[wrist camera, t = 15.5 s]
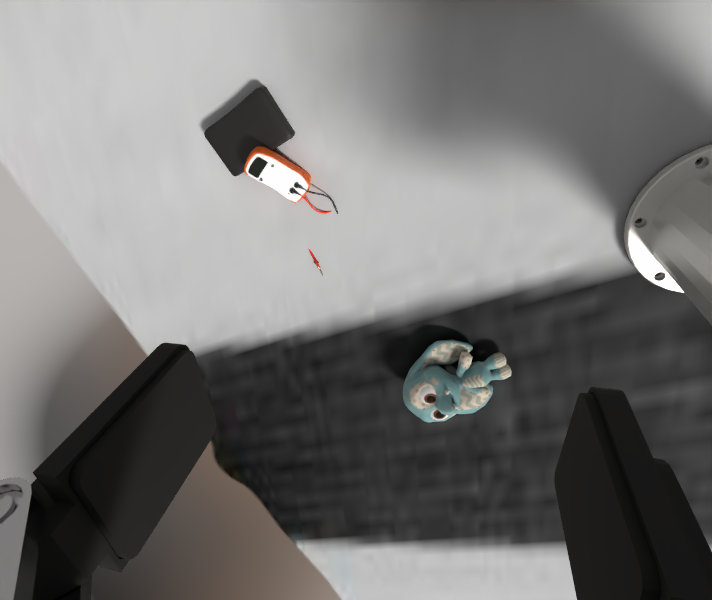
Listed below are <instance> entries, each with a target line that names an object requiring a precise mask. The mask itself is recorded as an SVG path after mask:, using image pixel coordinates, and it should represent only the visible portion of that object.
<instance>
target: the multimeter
mask: <svg viewBox="0 0 712 600" xmlns="http://www.w3.org/2000/svg"><path fill="white" fill-rule="evenodd" d="M294 134H295V132H294V130H293V129H292V127H291V126H290V124H289V122H288V121H287V119H286V118H285V116H284V115H283V113H282V111H281V110H280V108H279V107H278V105H277V103H276V102H275V100H274V99H273V97H272V96H271V94H270V92H269V91H268V89H267V88H266V87H259V88H257V89H255V90H254V91H253V92H252V93H251V94H250V95H249V96H248V97H246V98H245V99H244V100H243V101H242V102H241V103H240V104H239V105H237V106H236V107H235V108H234V109H233V110H231V111H230V112H229V113H228V114H227V115H225V116H224V117H223V118H221V119H220V120H219V121H217V122H216V123H215V124H213V125H212V126H211V127H209V128H208V129H207V130H206V131H205V133H204V135H205V137H206V139H207V140H208V141H209V143H210V144H211V146H212V147H213V148H214V150H215V151H216V153H217V154H218V155H219V157H220V158H221V160H222V161H223V162H224V164H225V165H226V167H227V168H228V169H229V171H230V172H231V174H232V175H234V176H238V175H240V174H241V173H243V172H245V173H246V174H247V175H248V176H251V177H252V178H254V179H256V180H258V181H260V182H261V183H264V184H266V185H267V186H269V187H271V188H273V189H274V190H276V191H278V192H279V193H280V194H282V195H283V196H284V197H286V198H287V199H289V200H290V201H292V202H294V203H296V202H298V201H300V200H301V199H302V198H304V199H305V200H306V201H307V202H308V203H309V201H308V200H307V199H306V198H305V197H304V196H305V195H306V193H307V192H309V193H313V194H318V195H323V196H326V197H328V198H329V199H330V200H331V201H332V203H333V205H334V207H335V210H336V212H337V214H338V211H337V209H336V206H335V204H334V202H333V200H332V199H331V198H330V197H329V196H327V195H324V194H320V193H315V192H311V191H308V190H309V187H310V182H311V176H310V174H309V173H308V172H306V171H305V170H303V169H302V168H300V167H298V166H297V165H295V164H293V163H292V162H290V161H288V160H287V159H285V158H284V157H282V156H280V155H279V154H277V153H275V152H274V151H272V150H274V149H275V148H277V147H278V146H280V145H281V144H283V143H285V142H286V141H288V140H289V139H291V138H292V137H293V136H294ZM309 205H310V206H311V207H312V208H313V209H314V210H315V211H317V212H319V213H329V212H331V211H328V212H321V211H318V210H316V209H315V208H314V207H313V206H312V205H311V204H310V203H309ZM309 251H310V249H309ZM310 253H311V255H312V257H313V259H314V261H315V264H316V265H317V267H318V268H319V269H320V266H319V264H318V262H317V260H316V258H315V257H314V255H313V253H312V252H311V251H310ZM320 271H321V270H320ZM321 273H322V272H321ZM322 275H323V274H322Z"/></svg>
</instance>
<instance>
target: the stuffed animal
mask: <svg viewBox="0 0 712 600" xmlns="http://www.w3.org/2000/svg"><path fill="white" fill-rule="evenodd" d="M472 348H473V346H472V345H470V344H469V343H466V342H461V341H456V340H440V341H436V342H434V343H433V344H432V345H430V346H429V347H428V348H427V349H426V350H425V352H424V353H423V354H422V356H421V357H420V358H419V359H418V360H416V362H415V363H414V364H413V366H412V367H411V368H410V370H409V372H408V375H407V377H406V379H405V383H404V387H403V399H404V403H405V405H406V406H407V408H408V409H409V410H410V411H411V412H413V413H414V414H415V415H416V416H418V417H419V418H421V419H422V420H423V421H425V422H435V421H445V420H447V419H449V418H451V417H452V416H454V415H455V414H468V413H474V412H476V411H477V410H479V409H480V408H482V407H483V406H485V404H486V403H487V401H488V400H489V399H490V397H491V396H492V393H493V387H492V385H491V383H489V382H490V381H491V380H502V379H506V378H508V377H510V376H511V368H510V367H509V366H508V365H507V364H506V357H505V356H504V355H503V354H502V353H501V352H498V353H494V354H492V355H491V356H489V357H488V358H487V359H486V360H485V361H483V362H480V361H477V362H473V363H471V362H472V358H473V357H472V356H471V354H470V353H469V352H470V351H471V350H472ZM458 360H459V363H458V369H457V371H456V373H457V375H452V374H450V373H448V372H447V371H446V370H444V369H443V368H441V367H440V366H439V365H450V364H452V363H454V362H456V361H458ZM490 369H494V370H493V371H490Z"/></svg>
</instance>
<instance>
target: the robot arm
mask: <svg viewBox="0 0 712 600" xmlns="http://www.w3.org/2000/svg"><path fill="white" fill-rule="evenodd" d="M699 158H700V160H699V162H697V163H695V162H696V161H697V159H699ZM639 218H640V220H639V221H636V220H637V219H639ZM635 221H636V222H635ZM624 243H625V249H626V252H627V254H628V257H629V259H630V261H631V262H632V263H633V265H634V267H635V268H636V269H637V270H638V271H639V272H640V273H641V275H642V276H643V277H644V278H646V279H647V280H649V281H650V282H651V283H653V284H655V285H657V286H660V287H662V288H665V289H667V290H672V291H676V292H681V293H685V294H686V295H687V296H688V298H689V299H690V300H691V301H692V302H693V304H694V305H695V306H696V307H697V308H698V309H699V311H700V312H701V313H702V314H703V315H704V317H705V318H706V319H707V320H708V321H709V322H710V324H711V325H712V144H710V145H707V146H704V147H701V148H698V149H696V150H694V151H692V152H690V153H688V154H686V155H684V156H682V157H680V158H678V159H677V160H675V161H674V162H672V163H671V164H669V165H668V166H666V167H665V168H663V169H662V170H661V171H660V172H659V173H658V174H657V175H656V176H654V177H653V178H652V179H651V180H650V181H649V182H648V183H647V185H646V186H645V187H644V188H643V189H642V191H641V192H640V193H639V194H638V196H637V198H636V199H635V201H634V203H633V204H632V206H631V208H630V210H629V213H628V216H627V219H626V222H625V229H624ZM656 273H657V274H656ZM215 430H216V419H215V416H214V413H213V410H212V407H211V404H210V401H209V398H208V395H207V392H206V389H205V386H204V383H203V380H202V377H201V374H200V371H199V368H198V365H197V362H196V358H195V355H194V353H193V352H192V351H190V350H189V348H188V347H187V346H186V345H182V344H172V343H162V344H161V345H159V346H158V347H157V348H156V349H155V350H154V351H153V352H152V353H151V354H150V355H149V356H148V357H147V358H146V359H145V360H144V361H143V362H142V363H141V364H140V365H139V366H138V367H137V368H136V369H135V370H134V371H133V372H132V373H131V374H130V375H129V376H128V377H127V378H126V379H125V380H124V381H123V382H122V383H121V384H120V385H119V386H118V388H116V389H115V390H114V391H113V392H112V393H111V394H110V396H108V397H107V398H106V399H105V400H104V401H103V402H102V403H101V405H99V406H98V407H97V409H95V410H94V412H92V413H91V414H90V415H89V416H88V417H87V419H86V420H85V421H84V422H83V423H82V424H81V425H80V426H79V427H78V428H77V429H76V430H75V431H74V432H73V433H72V434H71V435H70V436H69V437H68V438H67V439H66V440H65V441H64V442H63V443H62V444H61V445H60V446H59V447H58V448H57V449H56V450H55V451H54V452H53V453H52V454H51V455H50V456H49V457H48V458H47V459H46V460H45V461H44V462H43V463H42V464H41V465H40V466H39V467H38V468H37V469H36V470H35V471H34V472H33V473H34V475H35V476H36V478H37V479H36V480H35V481H34V482H33V483H32V484H31V485H30V483H29V482H28V481H27V480H25V479H22V478H7V479H3V480H0V600H91V579H92V573H93V572H94V571H95V569H96V568H97V566H98V565H100V566H101V567H102V568H105V569H110V570H114V571H118V572H122V570H123V569H124V567H125V566H126V564H127V563H128V561H129V560H130V559H132V558H134V557H135V556H137V555H138V553H139V552H140V550H141V549H142V547H143V546H144V544H145V543H146V541H147V539H148V538H149V536H150V534H151V533H152V531H153V530H154V528H155V527H156V525H157V524H158V522H159V521H160V519H161V517H162V516H163V514H164V513H165V511H166V510H167V508H168V506H169V505H170V503H171V502H172V500H173V499H174V497H175V495H176V494H177V492H178V491H179V489H180V487H181V486H182V484H183V483H184V481H185V479H186V478H187V476H188V475H189V473H190V472H191V470H192V469H193V467H194V465H195V464H196V462H197V461H198V459H199V458H200V456H201V454H202V453H203V451H204V450H205V448H206V446H207V445H208V443H209V442H210V440H211V439H212V437H213V435H214V433H215ZM555 489H556V494H557V499H558V504H559V509H560V515H561V520H562V525H563V530H564V535H565V540H566V545H567V550H568V555H569V560H570V565H571V571H572V576H573V581H574V586H575V591H576V596H577V600H712V552H711V549H710V547H709V545H708V543H707V541H706V539H705V537H704V535H703V533H702V531H701V528H700V526H699V524H698V522H697V520H696V518H695V516H694V514H693V512H692V509H691V507H690V505H689V503H688V501H687V499H686V497H685V495H684V493H683V491H682V488H681V486H680V484H679V482H678V480H677V478H676V476H675V474H674V472H673V470H672V469H671V467H670V465H669V464H668V463H667V462H666V461H664V460H661V459H656V458H653V457H652V454H651V452H650V450H649V448H648V445H647V443H646V441H645V439H644V436H643V434H642V432H641V429H640V427H639V425H638V423H637V420H636V418H635V416H634V414H633V411H632V409H631V407H630V405H629V402H628V400H627V398H626V396H625V394H624V392H623V391H621V390H615V389H606V388H596V387H591V388H590V389H589V391H588V393H580V394H579V396H578V399H577V402H576V405H575V408H574V412H573V415H572V418H571V422H570V425H569V428H568V431H567V435H566V438H565V441H564V444H563V448H562V451H561V454H560V458H559V461H558V464H557V467H556V471H555Z"/></svg>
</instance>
